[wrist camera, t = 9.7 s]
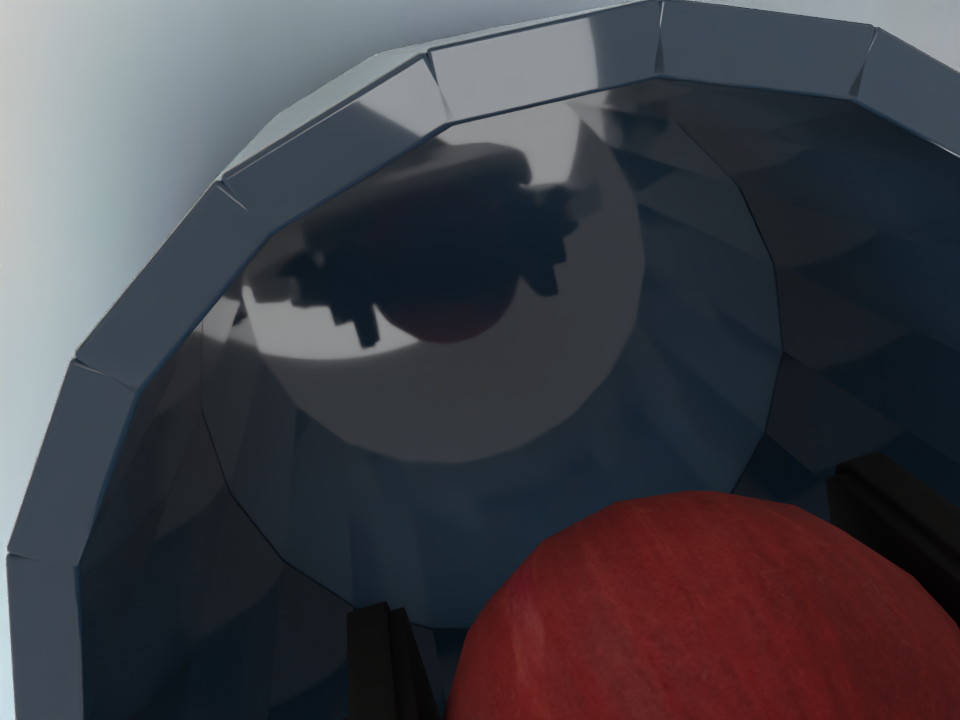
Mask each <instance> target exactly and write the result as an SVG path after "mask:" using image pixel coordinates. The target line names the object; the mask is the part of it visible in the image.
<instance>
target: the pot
mask: <svg viewBox="0 0 960 720" xmlns="http://www.w3.org/2000/svg"><path fill="white" fill-rule="evenodd" d="M874 452H880V453H882V454H884V455H886V456H887V457H889V458H890V459H891V460H893V461H894V462H896V463H897V464H898V465H900V466H901V467H902V468H904V469H905V470H907V471H908V472H909V473H911V474H912V475H914V476H915V477H916V478H918V479H919V480H921V481H922V482H923V483H925V484H926V485H928V486H929V487H930V488H932V489H933V490H935V491H936V492H937V493H939V494H940V495H942V496H943V497H944V498H946V499H947V500H949V501H950V502H951V503H953V504H954V505H956V506H957V507H958V508H960V72H958V71H956V70H954V69H952V68H951V67H949V66H947V65H945V64H944V63H942V62H940V61H938V60H936V59H935V58H933V57H931V56H929V55H928V54H926V53H924V52H922V51H920V50H919V49H917V48H915V47H913V46H912V45H910V44H908V43H906V42H904V41H903V40H901V39H899V38H897V37H896V36H894V35H892V34H890V33H888V32H887V31H885V30H883V29H881V28H880V27H874V26H872V25H871V24H863V23H856V22H848V21H841V20H833V19H826V18H818V17H811V16H803V15H796V14H788V13H780V12H773V11H765V10H758V9H750V8H743V7H735V6H728V5H720V4H713V3H705V2H698V1H690V0H637V1H632V2H627V3H621V4H616V5H611V6H605V7H600V8H595V9H589V10H584V11H579V12H573V13H568V14H563V15H557V16H552V17H547V18H541V19H536V20H531V21H525V22H520V23H515V24H509V25H504V26H499V27H493V28H488V29H483V30H479V31H474V32H470V33H465V34H461V35H456V36H452V37H447V38H443V39H438V40H434V41H429V42H425V43H420V44H416V45H411V46H407V47H402V48H398V49H393V50H389V51H384V52H380V53H377V54H376V55H372V56H371V57H369V58H367V59H366V60H364V61H363V62H361V63H359V64H358V65H356V66H354V67H353V68H351V69H350V70H348V71H346V72H345V73H343V74H341V75H340V76H338V77H337V78H335V79H333V80H332V81H330V82H328V83H326V84H324V85H323V86H322V87H320V88H319V89H317V90H315V91H314V92H312V93H311V94H309V95H307V96H306V97H304V98H302V99H301V100H299V101H298V102H296V103H294V104H293V105H291V106H289V107H288V108H286V109H285V110H283V111H281V112H280V113H278V114H277V115H276V116H275V117H274V118H272V119H271V121H270V122H269V123H268V124H267V125H266V126H265V127H264V128H263V129H262V130H261V131H260V132H259V133H258V134H257V135H256V136H255V137H254V138H253V139H252V141H251V142H250V143H249V144H248V145H247V146H246V147H245V148H244V149H243V150H242V151H241V152H240V153H239V154H238V155H237V156H236V157H235V158H234V159H233V161H232V162H231V163H230V164H229V165H228V166H227V167H226V168H225V169H224V170H223V171H222V172H221V173H220V174H219V175H218V176H217V177H216V178H215V180H214V181H213V182H212V183H211V184H210V185H209V186H208V188H207V189H206V190H205V191H204V193H203V194H202V195H201V196H200V198H199V199H198V200H197V201H196V202H195V204H194V205H193V206H192V207H191V209H190V210H189V211H188V212H187V213H186V215H185V216H184V217H183V218H182V220H181V221H180V222H179V223H178V225H177V226H176V227H175V228H174V229H173V231H172V232H171V233H170V234H169V236H168V237H167V238H166V239H165V240H164V242H163V243H162V244H161V245H160V247H159V248H158V249H157V250H156V252H155V253H154V254H153V255H152V256H151V258H150V259H149V260H148V261H147V263H146V264H145V265H144V266H143V267H142V269H141V270H140V271H139V272H138V274H137V275H136V276H135V277H134V279H133V280H132V281H131V282H130V283H129V285H128V286H127V287H126V288H125V290H124V291H123V292H122V293H121V294H120V296H119V297H118V298H117V299H116V301H115V302H114V303H113V304H112V305H111V307H110V308H109V309H108V310H107V312H106V313H105V314H104V315H103V317H102V318H101V319H100V320H99V321H98V323H97V324H96V325H95V326H94V328H93V329H92V330H91V331H90V332H89V334H88V335H87V336H86V337H85V339H84V340H83V341H82V342H81V344H80V345H79V346H78V347H77V348H76V350H75V354H74V356H73V357H72V358H71V360H70V361H69V363H68V366H67V369H66V371H65V374H64V377H63V380H62V383H61V386H60V389H59V392H58V395H57V398H56V401H55V404H54V407H53V410H52V413H51V416H50V419H49V422H48V425H47V428H46V431H45V434H44V437H43V440H42V443H41V445H40V448H39V451H38V454H37V457H36V460H35V463H34V466H33V469H32V472H31V475H30V478H29V481H28V484H27V487H26V490H25V493H24V496H23V499H22V502H21V505H20V508H19V511H18V514H17V517H16V519H15V522H14V525H13V528H12V531H11V534H10V537H9V540H8V543H7V552H8V553H7V555H6V557H5V560H6V577H7V593H8V610H9V627H10V643H11V660H12V677H13V693H14V710H15V720H342V719H345V718H348V717H349V695H348V661H347V627H346V614H347V613H348V612H351V611H354V610H357V609H360V608H364V607H367V606H370V605H374V604H377V603H380V602H383V601H386V602H387V603H388V605H389V607H390V610H395V609H398V608H401V607H404V608H405V610H406V612H407V615H408V618H409V621H410V624H411V627H412V630H413V634H414V637H415V640H416V643H417V646H418V649H419V652H420V655H421V658H422V661H423V664H424V667H425V670H426V673H427V676H428V680H429V683H430V686H431V689H432V692H433V695H434V698H435V701H436V704H437V707H438V710H439V713H440V716H441V719H442V718H443V715H444V711H445V708H446V704H447V701H448V697H449V694H450V690H451V687H452V683H453V680H454V676H455V673H456V669H457V666H458V662H459V659H460V655H461V652H462V648H463V645H464V641H465V638H466V634H467V632H468V631H469V629H470V628H471V626H472V625H473V623H474V621H475V620H476V618H477V617H478V615H479V614H480V612H481V610H482V609H483V607H484V606H485V604H486V603H487V601H488V600H489V599H490V598H491V597H492V596H493V595H494V593H495V592H496V591H497V590H498V589H499V588H500V587H501V586H502V585H503V584H504V582H505V581H506V580H507V579H508V578H509V577H510V576H511V575H512V574H513V573H514V571H515V570H516V569H517V568H518V567H519V566H520V565H521V564H522V563H523V562H524V560H525V559H526V558H527V557H528V556H529V555H530V554H531V553H532V552H533V551H534V549H535V548H536V547H537V546H538V545H539V544H540V543H541V542H542V541H543V540H544V539H546V538H548V537H550V536H552V535H554V534H556V533H558V532H560V531H561V530H563V529H565V528H567V527H569V526H571V525H573V524H575V523H577V522H578V521H580V520H582V519H584V518H586V517H588V516H590V515H592V514H594V513H595V512H597V511H599V510H601V509H603V508H605V507H607V506H609V505H611V504H612V503H614V502H617V501H624V500H630V499H636V498H643V497H649V496H655V495H662V494H668V493H674V492H681V491H687V490H694V491H716V492H723V493H728V494H734V495H740V496H745V497H751V498H756V499H762V500H768V501H773V502H779V503H785V504H790V505H796V506H798V507H800V508H802V509H803V510H805V511H807V512H809V513H811V514H813V515H815V516H817V517H818V518H820V519H822V520H824V521H826V522H828V523H830V524H831V522H830V514H829V506H828V497H827V489H826V482H827V479H828V478H829V477H831V476H835V470H836V466H837V465H838V464H839V463H841V462H845V461H848V460H851V459H854V458H858V457H861V456H864V455H868V454H871V453H874Z"/></svg>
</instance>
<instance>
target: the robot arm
mask: <svg viewBox="0 0 960 720" xmlns="http://www.w3.org/2000/svg"><path fill="white" fill-rule="evenodd" d="M826 489H827V497H828V506H829V514H830V522H831V524H832V525H834V526H835V527H837V528H839V529H841V530H843V531H844V532H846V533H847V534H849V535H850V536H852V537H854V538H855V539H857V540H858V541H860V542H861V543H863V544H864V545H866V546H867V547H869V548H870V549H872V550H874V551H875V552H877V553H878V554H880V555H881V556H883V557H884V558H886V559H887V560H889V561H890V562H892V563H894V564H895V565H897V566H898V567H900V568H901V569H903V570H904V571H906V572H907V573H909V574H910V575H912V576H913V577H914V578H915V579H916V580H917V581H918V582H919V583H920V584H921V585H922V586H923V587H924V589H925V590H926V591H927V592H928V593H929V594H930V595H931V596H932V597H933V598H934V599H935V600H936V602H937V603H938V604H939V605H940V606H941V607H942V608H943V609H944V610H945V611H946V612H947V613H948V615H949V616H950V617H951V618H952V619H953V620H954V621H955V622H956V624H957V626H958V628H959V630H960V508H958V507H957V506H956V505H954V504H953V503H951V502H950V501H949V500H947V499H946V498H944V497H943V496H942V495H940V494H939V493H937V492H936V491H935V490H933V489H932V488H930V487H929V486H928V485H926V484H925V483H923V482H922V481H921V480H919V479H918V478H916V477H915V476H914V475H912V474H911V473H909V472H908V471H907V470H905V469H904V468H902V467H901V466H900V465H898V464H897V463H896V462H894V461H893V460H891V459H890V458H889V457H887V456H886V455H884V454H882V453H880V452H874V453H871V454H868V455H864V456H861V457H858V458H854V459H851V460H848V461H845V462H841V463H839V464H838V465H837V466H836V470H835V476H831V477H829V478H828V479H827V482H826ZM346 627H347V661H348V695H349V717H348V718H345V719H342V720H442V719H441V716H440V713H439V710H438V707H437V704H436V701H435V698H434V695H433V692H432V689H431V686H430V683H429V680H428V676H427V673H426V670H425V667H424V664H423V661H422V658H421V655H420V652H419V649H418V646H417V643H416V640H415V637H414V634H413V630H412V627H411V624H410V621H409V618H408V615H407V612H406V610H405V608H404V607H401V608H398V609H395V610H390V607H389V605H388V603H387V602H386V601H383V602H380V603H377V604H374V605H370V606H367V607H364V608H360V609H357V610H354V611H351V612H348V613H347V614H346Z"/></svg>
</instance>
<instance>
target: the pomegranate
mask: <svg viewBox="0 0 960 720" xmlns="http://www.w3.org/2000/svg"><path fill="white" fill-rule="evenodd" d="M442 720H960V630H959V628H958V626H957V624H956V622H955V621H954V620H953V619H952V618H951V617H950V616H949V615H948V613H947V612H946V611H945V610H944V609H943V608H942V607H941V606H940V605H939V604H938V603H937V602H936V600H935V599H934V598H933V597H932V596H931V595H930V594H929V593H928V592H927V591H926V590H925V589H924V587H923V586H922V585H921V584H920V583H919V582H918V581H917V580H916V579H915V578H914V577H913V576H912V575H910V574H909V573H907V572H906V571H904V570H903V569H901V568H900V567H898V566H897V565H895V564H894V563H892V562H890V561H889V560H887V559H886V558H884V557H883V556H881V555H880V554H878V553H877V552H875V551H874V550H872V549H870V548H869V547H867V546H866V545H864V544H863V543H861V542H860V541H858V540H857V539H855V538H854V537H852V536H850V535H849V534H847V533H846V532H844V531H843V530H841V529H839V528H837V527H835V526H834V525H832V524H830V523H828V522H826V521H824V520H822V519H820V518H818V517H817V516H815V515H813V514H811V513H809V512H807V511H805V510H803V509H802V508H800V507H798V506H796V505H790V504H785V503H779V502H773V501H768V500H762V499H756V498H751V497H745V496H740V495H734V494H728V493H723V492H716V491H694V490H687V491H681V492H674V493H668V494H662V495H655V496H649V497H643V498H636V499H630V500H624V501H617V502H614V503H612V504H611V505H609V506H607V507H605V508H603V509H601V510H599V511H597V512H595V513H594V514H592V515H590V516H588V517H586V518H584V519H582V520H580V521H578V522H577V523H575V524H573V525H571V526H569V527H567V528H565V529H563V530H561V531H560V532H558V533H556V534H554V535H552V536H550V537H548V538H546V539H544V540H543V541H542V542H541V543H540V544H539V545H538V546H537V547H536V548H535V549H534V551H533V552H532V553H531V554H530V555H529V556H528V557H527V558H526V559H525V560H524V562H523V563H522V564H521V565H520V566H519V567H518V568H517V569H516V570H515V571H514V573H513V574H512V575H511V576H510V577H509V578H508V579H507V580H506V581H505V582H504V584H503V585H502V586H501V587H500V588H499V589H498V590H497V591H496V592H495V593H494V595H493V596H492V597H491V598H490V599H489V600H488V601H487V603H486V604H485V606H484V607H483V609H482V610H481V612H480V614H479V615H478V617H477V618H476V620H475V621H474V623H473V625H472V626H471V628H470V629H469V631H468V632H467V634H466V638H465V641H464V645H463V648H462V652H461V655H460V659H459V662H458V666H457V669H456V673H455V676H454V680H453V683H452V687H451V690H450V694H449V697H448V701H447V704H446V708H445V711H444V715H443V718H442Z"/></svg>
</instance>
